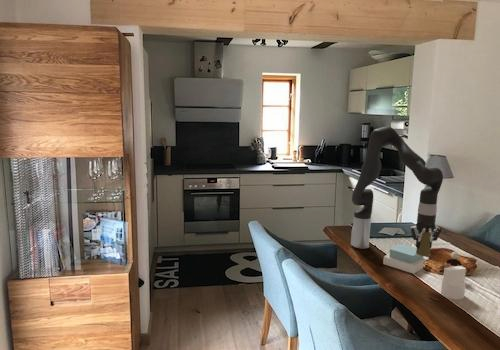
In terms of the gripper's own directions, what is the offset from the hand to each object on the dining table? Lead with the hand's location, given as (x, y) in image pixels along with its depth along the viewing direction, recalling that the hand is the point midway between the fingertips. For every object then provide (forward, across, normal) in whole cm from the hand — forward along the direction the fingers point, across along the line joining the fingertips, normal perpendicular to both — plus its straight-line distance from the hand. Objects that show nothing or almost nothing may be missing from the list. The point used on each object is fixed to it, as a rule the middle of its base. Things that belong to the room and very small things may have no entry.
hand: (423, 248), depth 184 cm
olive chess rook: (+3, 0, 0) cm, 3 cm away
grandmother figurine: (+16, +17, +5) cm, 24 cm away
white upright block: (+16, +9, -12) cm, 22 cm away
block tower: (+16, 0, +19) cm, 25 cm away
